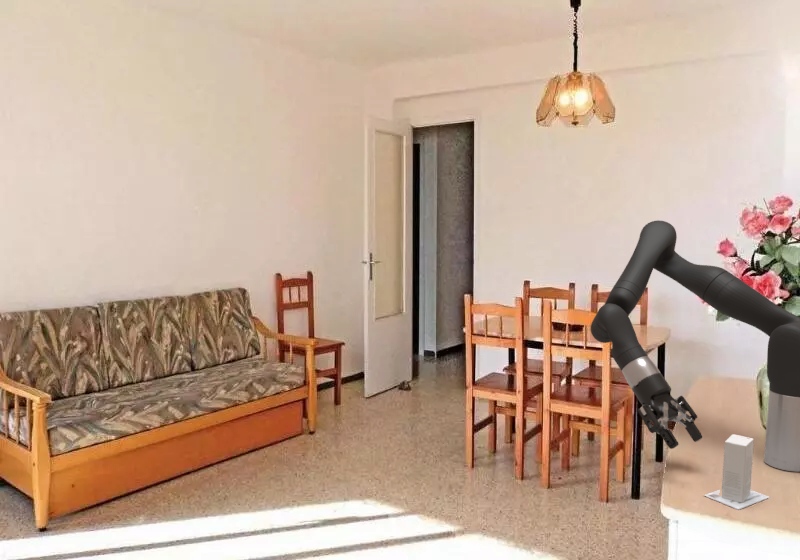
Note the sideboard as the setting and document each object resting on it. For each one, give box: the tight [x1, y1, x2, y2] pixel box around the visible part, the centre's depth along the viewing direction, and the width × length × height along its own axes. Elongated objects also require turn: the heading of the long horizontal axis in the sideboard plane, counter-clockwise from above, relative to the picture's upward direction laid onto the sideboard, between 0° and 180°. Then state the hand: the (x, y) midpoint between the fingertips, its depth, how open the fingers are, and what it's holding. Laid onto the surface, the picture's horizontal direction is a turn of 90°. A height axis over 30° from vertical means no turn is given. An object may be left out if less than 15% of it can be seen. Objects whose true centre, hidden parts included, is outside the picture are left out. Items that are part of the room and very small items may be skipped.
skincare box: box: [721, 433, 755, 503], centre depth 139 cm, size 6×4×12 cm
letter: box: [703, 488, 771, 511], centre depth 140 cm, size 11×8×1 cm
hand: (687, 443), depth 149 cm, fingers open, 8 cm apart
